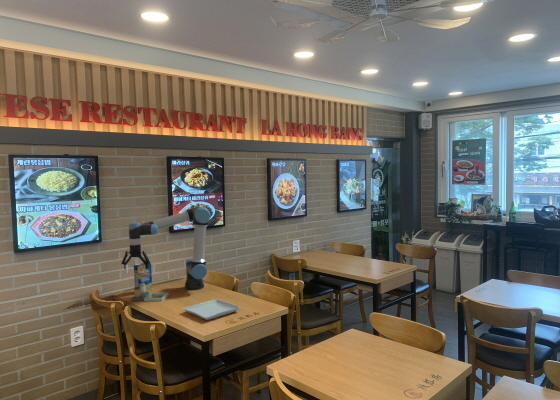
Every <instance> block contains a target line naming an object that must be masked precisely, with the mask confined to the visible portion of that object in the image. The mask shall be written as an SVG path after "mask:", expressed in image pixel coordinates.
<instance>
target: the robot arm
mask: <svg viewBox="0 0 560 400" xmlns="http://www.w3.org/2000/svg"><path fill="white" fill-rule="evenodd" d="M210 219H211V212H210V211H209V209H208V208H206V207H203V206H195V207H191V208H189V209H187V210H185V211H183V212H180V213H176V214H173V215H169V216H166V217H163V218H159V219H156V220H152V221H148V222H147V221H145V222H143V223H142V224H140V222H138V221H137V222H130V223H129V224H128V239H129V240H128V241H129V251H128V250H126V251H124V256H123V259H122V261H121V262H120V263H121V265H123V268H124V270H125V275H128V274H129V264H128V263H129V262H130V261H131V260H132V259H133V258H138V259H139V260H140V261H142V262H141V263H144V264H145V265H144V274H146V273H147V269H148V264H149V263H151V261H150V258H149V257H148V255H147V253H146V250H142V245H141V236H153V235H158V231H159V230H162V229H166V228H169V227H173V226H176V225H178V224H182V223H187V222H188V223H191V222H192V226H194V234H193V235H194V236H193V251H192V258H188V259H186V261H185V271H186V273H185V274H186V280H185V284H184V289H185V290H187V291H188V290H189V291H194V290H195V291H196V290H200V289H203V288H204V287H205V283H204V280H203V279H204V278H205V277H206V276H207V273H208V268H207V260H206V259H205V254H206V252H205V251H206V239H207V238H206V236H207V227H208V226H209V221H210Z"/></svg>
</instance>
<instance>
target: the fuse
mask: <svg viewBox="0 0 560 400" xmlns="http://www.w3.org/2000/svg"><path fill="white" fill-rule="evenodd" d="M139 287H140V294H141V295H145V284H144V283H142V284H139Z"/></svg>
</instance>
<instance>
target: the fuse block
mask: <svg viewBox="0 0 560 400" xmlns="http://www.w3.org/2000/svg"><path fill="white" fill-rule="evenodd" d="M149 294H150V292H145V295H141V298H135V295H134V296H132V297H130V302H142V301H144V298H145V297H146V296H148V295H149Z"/></svg>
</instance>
